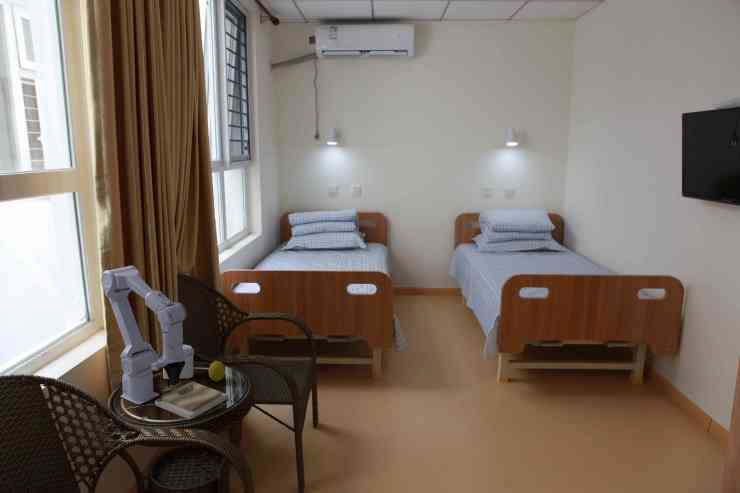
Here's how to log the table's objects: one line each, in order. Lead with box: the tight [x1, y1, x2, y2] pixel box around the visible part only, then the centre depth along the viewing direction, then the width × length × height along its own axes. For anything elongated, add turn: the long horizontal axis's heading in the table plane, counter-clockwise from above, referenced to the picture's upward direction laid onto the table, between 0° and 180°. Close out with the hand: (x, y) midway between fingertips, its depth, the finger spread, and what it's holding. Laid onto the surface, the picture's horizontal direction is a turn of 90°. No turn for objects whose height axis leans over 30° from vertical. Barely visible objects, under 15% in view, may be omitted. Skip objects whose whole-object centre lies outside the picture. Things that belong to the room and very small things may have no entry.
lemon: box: [208, 360, 226, 383], centre depth 180 cm, size 6×6×8 cm
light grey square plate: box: [154, 380, 229, 420], centre depth 166 cm, size 16×16×2 cm
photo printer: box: [162, 344, 194, 380], centre depth 182 cm, size 10×4×12 cm, turn 103°
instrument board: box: [160, 381, 223, 411], centre depth 166 cm, size 14×13×3 cm
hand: (174, 383), depth 158 cm, fingers closed
